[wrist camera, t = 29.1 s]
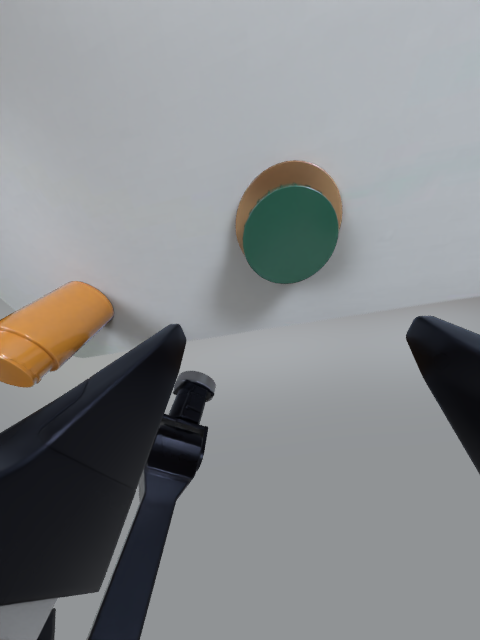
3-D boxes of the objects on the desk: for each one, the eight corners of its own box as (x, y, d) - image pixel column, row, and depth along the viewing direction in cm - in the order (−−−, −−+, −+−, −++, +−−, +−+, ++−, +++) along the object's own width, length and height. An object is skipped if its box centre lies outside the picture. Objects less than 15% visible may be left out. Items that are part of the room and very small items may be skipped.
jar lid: (338, 174, 12) (349, 175, 10) (324, 269, 16) (331, 281, 14) (240, 190, 13) (235, 193, 12) (249, 275, 17) (247, 287, 16)
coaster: (285, 288, 18) (285, 291, 18) (218, 234, 16) (216, 236, 16) (363, 216, 14) (366, 217, 14) (286, 127, 12) (286, 125, 11)
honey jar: (110, 328, 26) (40, 397, 18) (63, 305, 24) (-36, 370, 16) (118, 300, 22) (36, 369, 14) (64, 270, 21) (-61, 331, 13)
